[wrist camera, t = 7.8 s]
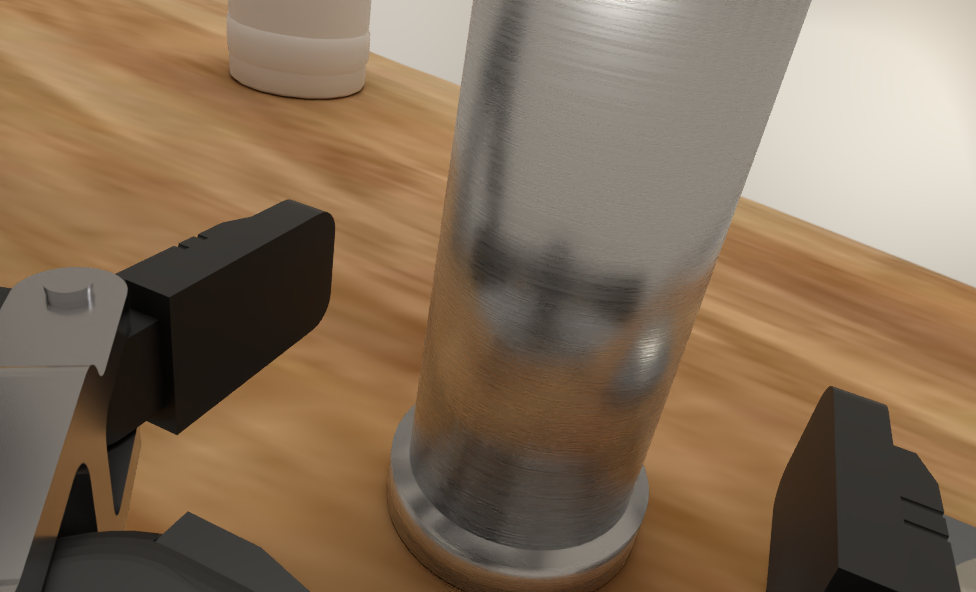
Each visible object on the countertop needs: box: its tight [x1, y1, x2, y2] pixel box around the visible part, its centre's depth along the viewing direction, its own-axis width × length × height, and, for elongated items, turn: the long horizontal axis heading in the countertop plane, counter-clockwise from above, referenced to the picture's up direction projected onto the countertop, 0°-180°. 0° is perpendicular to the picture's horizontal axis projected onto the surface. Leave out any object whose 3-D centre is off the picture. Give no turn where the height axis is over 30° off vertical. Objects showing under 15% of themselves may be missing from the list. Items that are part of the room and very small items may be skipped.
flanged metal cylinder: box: [387, 0, 811, 592], centre depth 15 cm, size 6×6×12 cm
